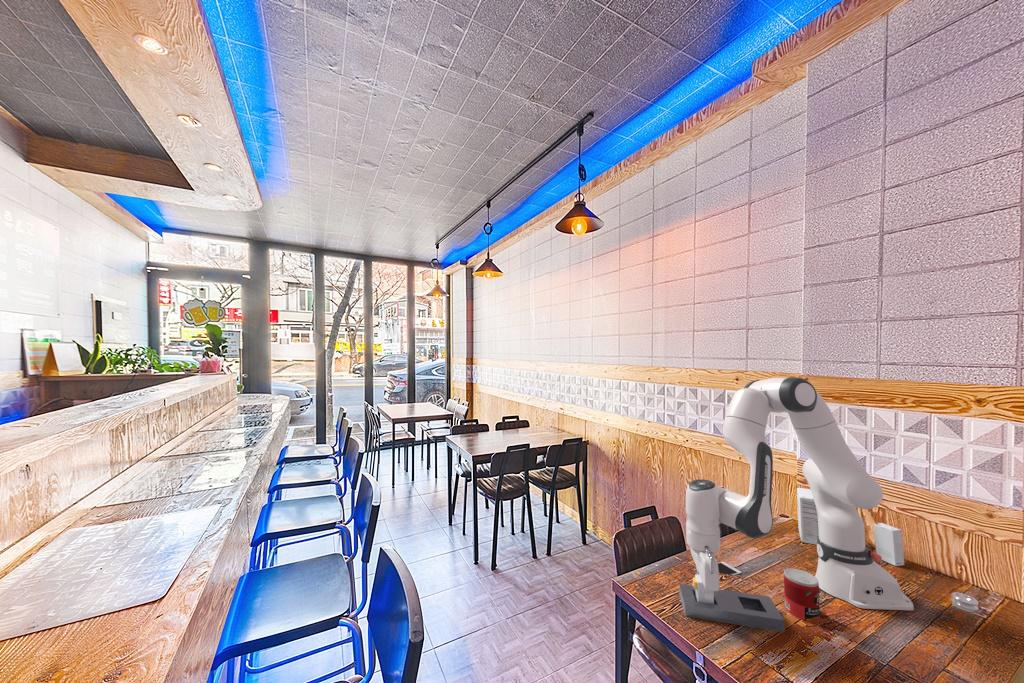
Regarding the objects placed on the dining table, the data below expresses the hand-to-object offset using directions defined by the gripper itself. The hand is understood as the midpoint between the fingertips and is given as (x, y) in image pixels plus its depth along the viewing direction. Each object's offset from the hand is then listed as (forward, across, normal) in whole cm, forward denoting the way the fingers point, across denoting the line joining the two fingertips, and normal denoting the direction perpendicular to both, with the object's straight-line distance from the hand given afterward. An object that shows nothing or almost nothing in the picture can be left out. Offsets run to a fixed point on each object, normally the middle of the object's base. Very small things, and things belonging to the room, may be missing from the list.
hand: (704, 587), depth 108 cm
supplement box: (+7, +57, -54) cm, 79 cm away
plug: (+6, 0, 0) cm, 6 cm away
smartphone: (+7, +22, -8) cm, 25 cm away
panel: (+7, 0, -6) cm, 9 cm away
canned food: (+7, +5, -26) cm, 27 cm away
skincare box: (+7, +45, -69) cm, 83 cm away
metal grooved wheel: (+7, +21, -73) cm, 76 cm away
